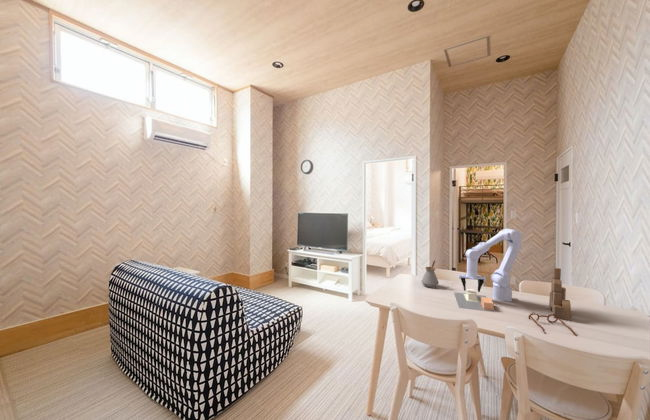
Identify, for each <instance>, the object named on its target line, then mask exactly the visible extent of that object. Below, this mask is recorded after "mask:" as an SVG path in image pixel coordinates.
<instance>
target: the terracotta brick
mask: <svg viewBox="0 0 650 420" xmlns="http://www.w3.org/2000/svg"><path fill="white" fill-rule="evenodd" d="M486 297H487V296H486ZM486 297H481V305H482V307H483V308H484V309H485V310H493V308H494V304H495V303H494V302H493V300H492V299H491V297H487V298H486ZM494 309H495V308H494Z"/></svg>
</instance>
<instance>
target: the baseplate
mask: <svg viewBox="0 0 650 420" xmlns="http://www.w3.org/2000/svg"><path fill="white" fill-rule="evenodd" d="M453 293H454V296H455V297H454V298H455V299H456V303H457V306H458V308H459V309H463V310H464V309H466V310H473V311H483V312H490V313H496V310H495V308H493V310H485V309H484V308H483V307H482V305H481V297H486V298H488V297H487V295H483V294H482V295H481V294H477V301H474V300H468V298H467V295H466V293H463V292H453Z"/></svg>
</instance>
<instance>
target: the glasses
mask: <svg viewBox="0 0 650 420" xmlns="http://www.w3.org/2000/svg"><path fill="white" fill-rule="evenodd" d="M533 315H536V316H537V318H536V320H535V319H534V317H532V316H533ZM553 316H556V318H555V320H553V321H552V320H550V317H553ZM540 318H546V320H547V322H549V323H556V322H557V321H559V322H560V323H562V325H563V326H565V327H566V328H567V329H569V330H570V331H571V333H572V334H573V336H575V337H577V335H576V333H575V332H574V330H573V329H572V328H571V327H570V326H569V325H567V324H566V323H565V322H564V320H561V319H559V318H558V316H557V315H555V314H553V313H552V314H548V315H543V314H541V315H540V314H538V313H536V312H533V313H530V314H528V319H529V320H532V321H533V322H534V323H535V325H537V326H539V327H540V328H541V330H542V332H543V334H544V335H546V332H545V329H544V327H543V326H542V325H541V324H539V323H538V322H537V321H539V319H540Z"/></svg>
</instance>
